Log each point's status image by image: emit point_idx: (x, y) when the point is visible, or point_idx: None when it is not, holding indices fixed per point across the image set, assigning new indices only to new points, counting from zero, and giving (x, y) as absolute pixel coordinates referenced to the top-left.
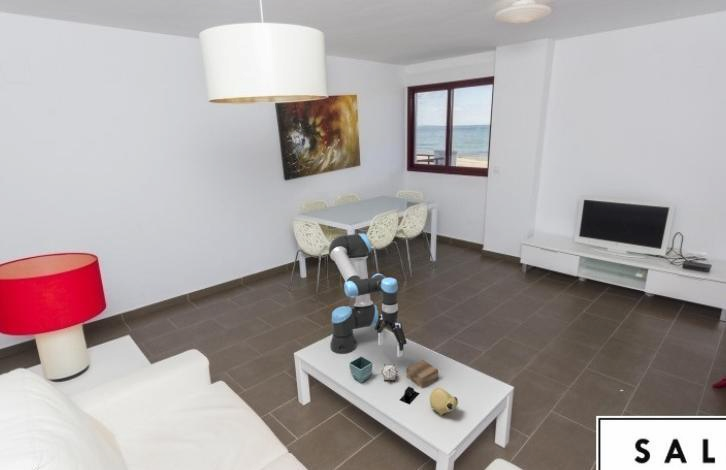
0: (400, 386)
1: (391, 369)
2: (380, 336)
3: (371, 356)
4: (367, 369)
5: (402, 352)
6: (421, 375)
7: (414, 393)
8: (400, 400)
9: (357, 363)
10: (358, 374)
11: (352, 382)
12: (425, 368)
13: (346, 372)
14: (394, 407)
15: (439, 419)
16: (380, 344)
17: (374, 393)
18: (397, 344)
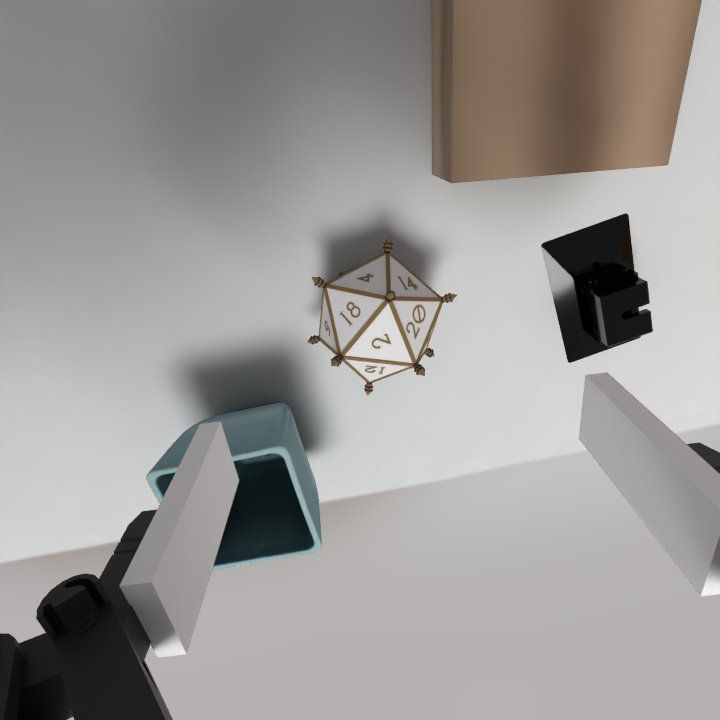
0: (481, 280)
1: (413, 338)
2: (198, 570)
3: (36, 248)
4: (303, 476)
5: (628, 395)
6: (638, 142)
7: (605, 249)
8: (576, 358)
9: None
10: (297, 514)
11: None
12: (599, 10)
13: None
14: None
15: None
16: (233, 470)
17: (427, 439)
18: (697, 590)
